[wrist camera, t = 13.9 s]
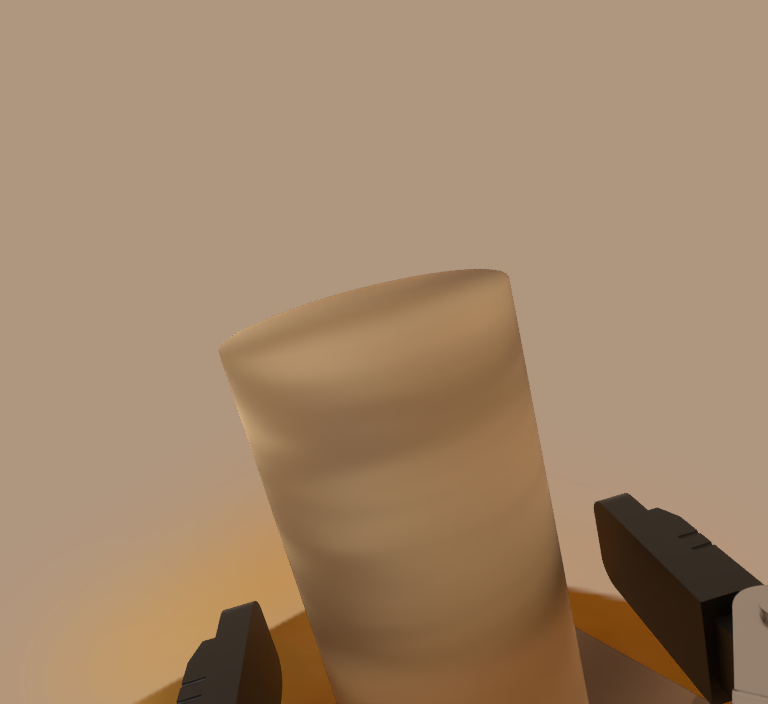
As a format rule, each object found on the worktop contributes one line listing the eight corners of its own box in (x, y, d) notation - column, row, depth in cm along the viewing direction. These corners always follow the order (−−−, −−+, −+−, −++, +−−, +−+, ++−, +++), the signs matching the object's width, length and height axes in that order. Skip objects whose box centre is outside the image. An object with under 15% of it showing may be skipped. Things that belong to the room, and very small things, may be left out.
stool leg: (367, 874, 17) (179, 347, 12) (504, 734, 20) (392, 273, 15) (523, 1121, 12) (299, 379, 7) (673, 882, 15) (578, 261, 10)
